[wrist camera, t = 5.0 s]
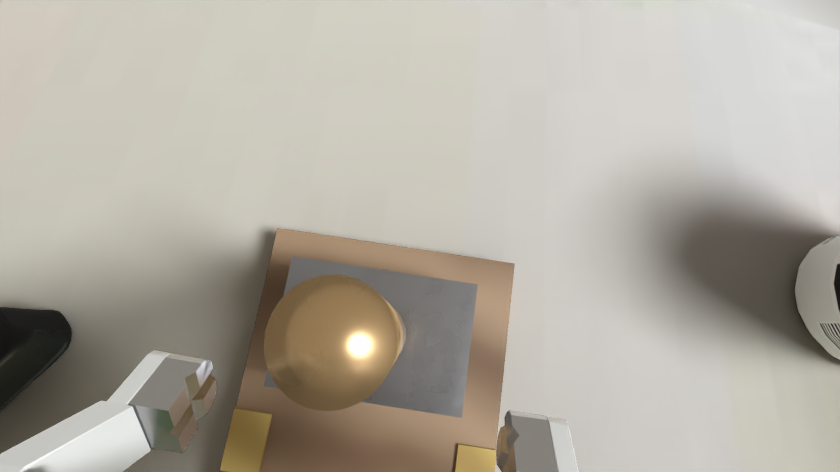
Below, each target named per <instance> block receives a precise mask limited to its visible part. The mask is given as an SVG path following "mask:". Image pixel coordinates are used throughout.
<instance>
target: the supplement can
mask: <svg viewBox="0 0 840 472" xmlns="http://www.w3.org/2000/svg"><path fill="white" fill-rule="evenodd" d="M795 296H796V302H797V308H798V312H799V314H800V316H801V317H802V319H803V321H804V323H805V325H806V327H807V329H808V330H809V331H810V333H811V335H812V336H813V337H814V338H815V339H816V340H817V341H818V342H819V343H820V344H821V345H822V346H823V348H824V349H825V350H826V351H827V352H828V353H829V354H830V355H832V356H834V357H836V358H837V359H839V360H840V236H836V237H832V238H828V239H826V240H825V241H823V242H821V243H820V244H818V245H816V246H815V247H813V248H812V249H810V251H809V252H808V254H807V255H806V257H805V258H804V260H803V261H802V263H801V264H800V266H799V270H798V275H797V280H796V285H795Z"/></svg>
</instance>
